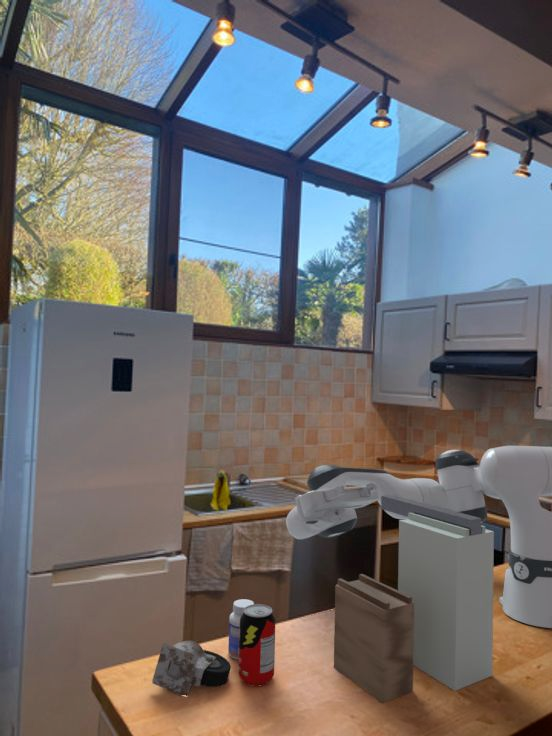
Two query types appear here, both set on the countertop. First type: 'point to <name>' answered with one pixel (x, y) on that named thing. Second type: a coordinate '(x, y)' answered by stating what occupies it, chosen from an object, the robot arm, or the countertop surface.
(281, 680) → the countertop surface
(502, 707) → the countertop surface
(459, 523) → the bar
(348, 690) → the countertop surface
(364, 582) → the chassis block
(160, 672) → the caster wheel
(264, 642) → the beverage can
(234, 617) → the pill bottle
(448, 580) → the stand
